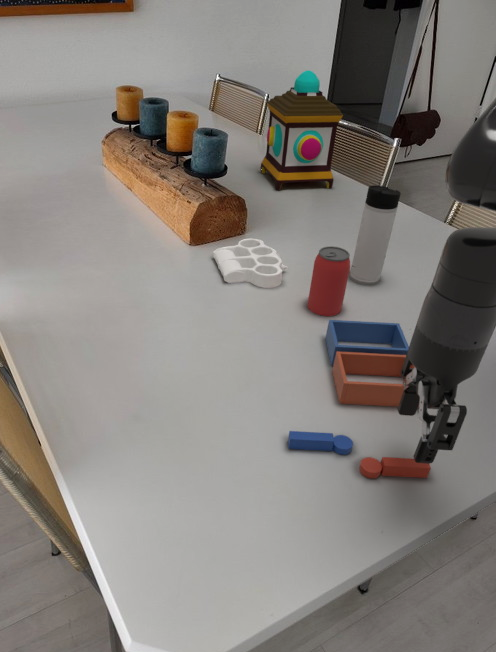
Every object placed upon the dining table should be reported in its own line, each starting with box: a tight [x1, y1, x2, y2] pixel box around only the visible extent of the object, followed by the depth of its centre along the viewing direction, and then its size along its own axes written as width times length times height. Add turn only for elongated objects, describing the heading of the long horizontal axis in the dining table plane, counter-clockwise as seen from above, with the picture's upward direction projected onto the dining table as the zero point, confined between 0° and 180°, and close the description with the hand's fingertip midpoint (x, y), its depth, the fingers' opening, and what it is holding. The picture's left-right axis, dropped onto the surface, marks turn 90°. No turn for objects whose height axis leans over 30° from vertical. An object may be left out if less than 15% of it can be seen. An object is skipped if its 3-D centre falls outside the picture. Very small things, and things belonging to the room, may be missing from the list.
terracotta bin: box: [331, 351, 419, 409], centre depth 85 cm, size 12×8×4 cm
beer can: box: [307, 246, 351, 317], centre depth 102 cm, size 7×7×12 cm
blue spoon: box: [287, 430, 354, 456], centre depth 75 cm, size 9×3×2 cm, turn 88°
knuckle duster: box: [212, 237, 289, 289], centre depth 117 cm, size 3×18×15 cm
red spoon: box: [358, 456, 432, 479], centre depth 72 cm, size 9×3×2 cm, turn 88°
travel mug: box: [349, 185, 402, 286], centre depth 110 cm, size 6×7×20 cm
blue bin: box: [324, 319, 410, 367], centre depth 92 cm, size 12×8×4 cm
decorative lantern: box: [260, 69, 344, 192], centre depth 156 cm, size 20×20×30 cm
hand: (413, 436), depth 68 cm, fingers open, 8 cm apart
